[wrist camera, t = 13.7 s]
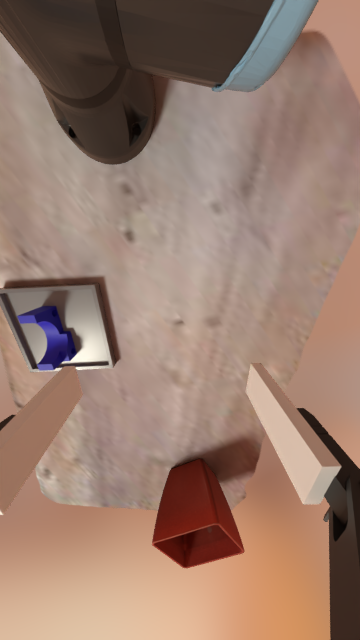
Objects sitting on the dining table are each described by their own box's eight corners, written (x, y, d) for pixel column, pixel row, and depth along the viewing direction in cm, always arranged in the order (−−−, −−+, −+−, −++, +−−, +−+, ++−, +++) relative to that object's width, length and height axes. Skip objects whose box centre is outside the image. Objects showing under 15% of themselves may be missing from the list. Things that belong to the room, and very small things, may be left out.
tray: (2, 287, 35) (-7, 289, 33) (98, 283, 35) (94, 284, 34) (36, 367, 42) (30, 372, 41) (116, 362, 43) (113, 367, 41)
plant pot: (206, 448, 56) (218, 524, 40) (228, 477, 62) (246, 553, 46) (156, 466, 59) (149, 544, 43) (182, 493, 65) (184, 569, 49)
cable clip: (77, 353, 40) (61, 369, 35) (58, 354, 40) (39, 370, 35) (63, 305, 36) (42, 315, 30) (41, 306, 36) (17, 315, 30)
